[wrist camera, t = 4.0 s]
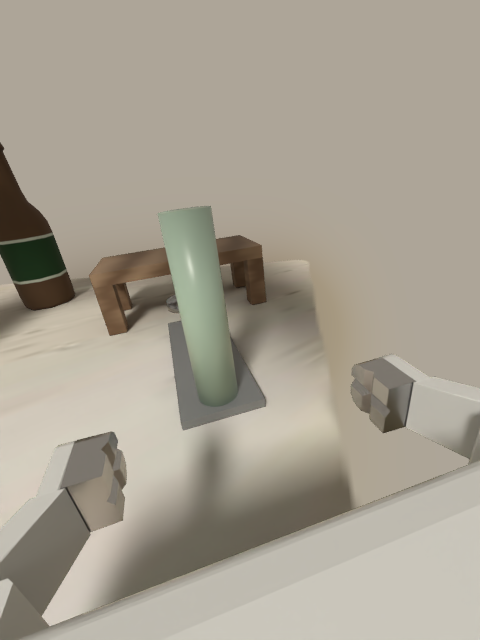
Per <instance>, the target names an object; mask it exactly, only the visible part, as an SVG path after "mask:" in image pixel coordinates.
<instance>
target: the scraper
mask: <svg viewBox="0 0 480 640" xmlns="http://www.w3.org/2000/svg"><path fill="white" fill-rule="evenodd" d="M158 218H159V222H160V227H161V231H162V236H163V240H164V245H165V249H166V254H167V258H168V263H169V267H170V272H171V276H172V281H173V285H174V290H175V294H176V299H177V303H178V308H179V312H180V317H181V321H177V322H173V323H168V327H169V335H170V343H171V351H172V358H173V366H174V374H175V381H176V389H177V397H178V404H179V412H180V420H181V425H182V429H183V430H186V429H190V428H193V427H197V426H200V425H204V424H207V423H210V422H214V421H217V420H221V419H224V418H227V417H231V416H234V415H238V414H241V413H245V412H248V411H251V410H255V409H258V408H262V407H265V406H266V405H265V398H264V396H263V394H262V393H261V391H260V389H259V387H258V385H257V384H256V382H255V380H254V378H253V376H252V375H251V373H250V371H249V369H248V367H247V366H246V364H245V362H244V360H243V358H242V357H241V355H240V353H239V351H238V349H237V348H236V346H235V344H234V342H233V341H232V339H231V337H230V333H229V326H228V319H227V312H226V305H225V299H224V292H223V285H222V278H221V271H220V265H219V258H218V251H217V244H216V238H215V231H214V224H213V217H212V211H211V206H201V207H191V208H183V209H177V210H170V211H165V212H161V213H158Z"/></svg>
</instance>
